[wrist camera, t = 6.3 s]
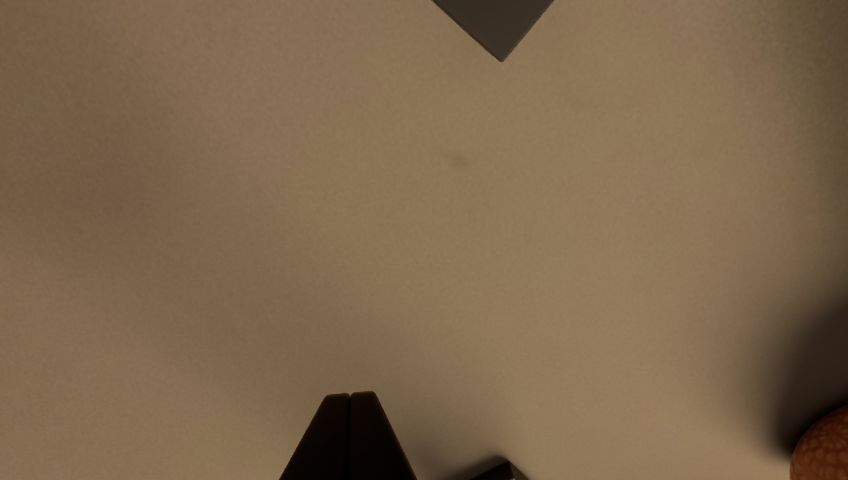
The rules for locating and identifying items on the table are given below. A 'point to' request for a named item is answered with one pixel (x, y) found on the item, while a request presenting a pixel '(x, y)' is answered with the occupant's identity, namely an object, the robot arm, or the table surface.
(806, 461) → the planter
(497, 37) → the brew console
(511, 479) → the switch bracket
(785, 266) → the table surface
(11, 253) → the table surface
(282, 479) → the robot arm
